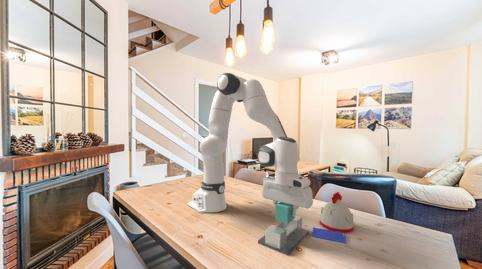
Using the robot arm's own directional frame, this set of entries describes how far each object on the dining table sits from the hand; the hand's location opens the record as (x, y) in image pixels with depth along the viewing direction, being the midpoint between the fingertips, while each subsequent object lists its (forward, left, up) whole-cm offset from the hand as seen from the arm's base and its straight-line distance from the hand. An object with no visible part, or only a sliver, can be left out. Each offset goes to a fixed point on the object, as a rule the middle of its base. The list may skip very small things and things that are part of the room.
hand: (285, 213), depth 81 cm
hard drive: (+13, +12, -10) cm, 21 cm away
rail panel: (0, 0, -10) cm, 10 cm away
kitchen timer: (+13, +25, -10) cm, 30 cm away
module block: (0, 0, -2) cm, 2 cm away
